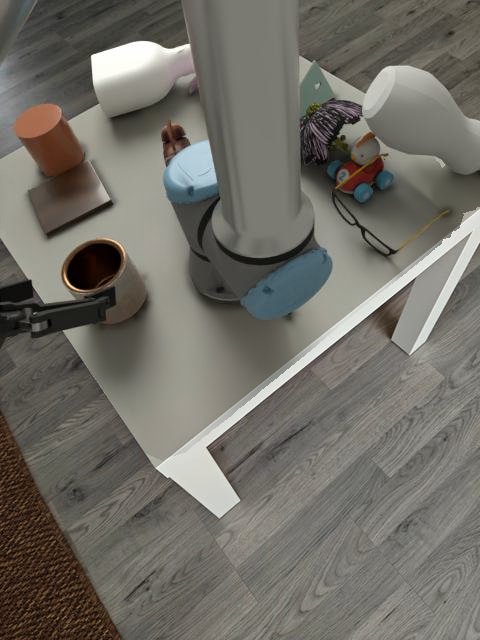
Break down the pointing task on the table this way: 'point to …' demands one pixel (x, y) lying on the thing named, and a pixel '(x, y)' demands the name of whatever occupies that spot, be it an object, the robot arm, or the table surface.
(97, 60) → the bottle
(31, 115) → the copper solid cylinder
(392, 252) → the eyeglasses
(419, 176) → the table surface
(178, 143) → the alarm clock
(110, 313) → the planter
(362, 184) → the toy car
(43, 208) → the brown wooden square plate
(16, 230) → the table surface
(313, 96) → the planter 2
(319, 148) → the decorative flower
